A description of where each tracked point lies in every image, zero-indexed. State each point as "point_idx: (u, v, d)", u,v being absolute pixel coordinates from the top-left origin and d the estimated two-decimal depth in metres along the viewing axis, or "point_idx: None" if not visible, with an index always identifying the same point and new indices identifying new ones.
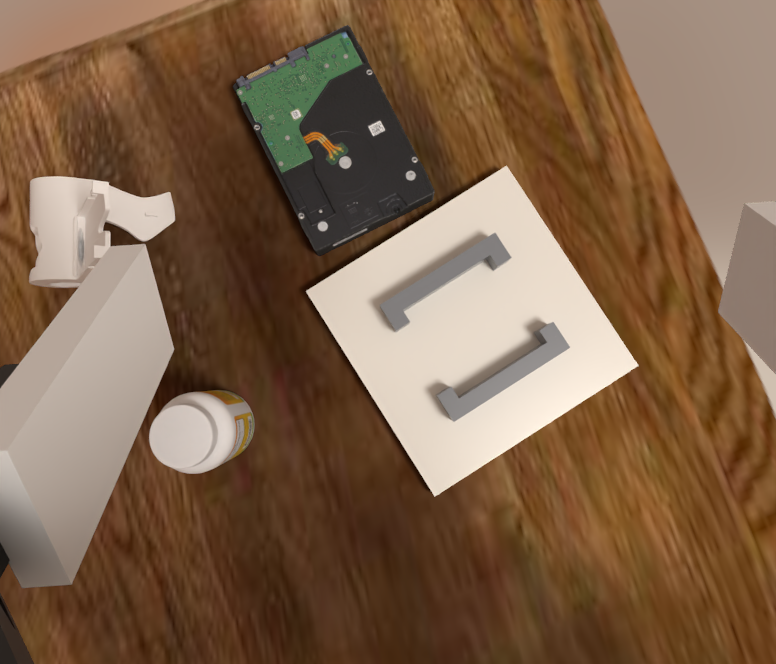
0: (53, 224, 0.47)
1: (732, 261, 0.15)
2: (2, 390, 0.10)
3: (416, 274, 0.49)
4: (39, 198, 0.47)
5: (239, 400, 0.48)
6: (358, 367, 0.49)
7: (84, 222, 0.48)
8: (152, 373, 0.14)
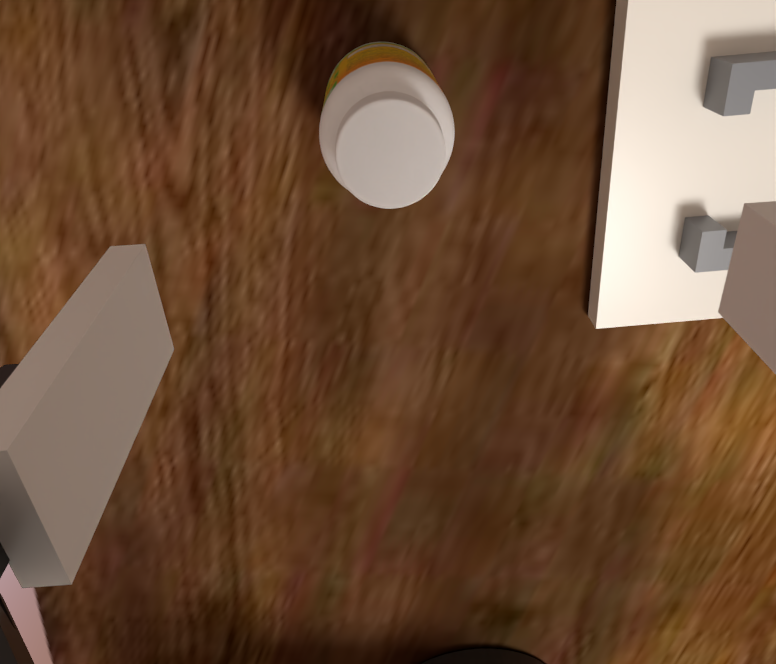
0: None
1: (732, 260, 0.15)
2: (2, 390, 0.10)
3: None
4: None
5: None
6: (621, 128, 0.31)
7: None
8: (152, 373, 0.14)
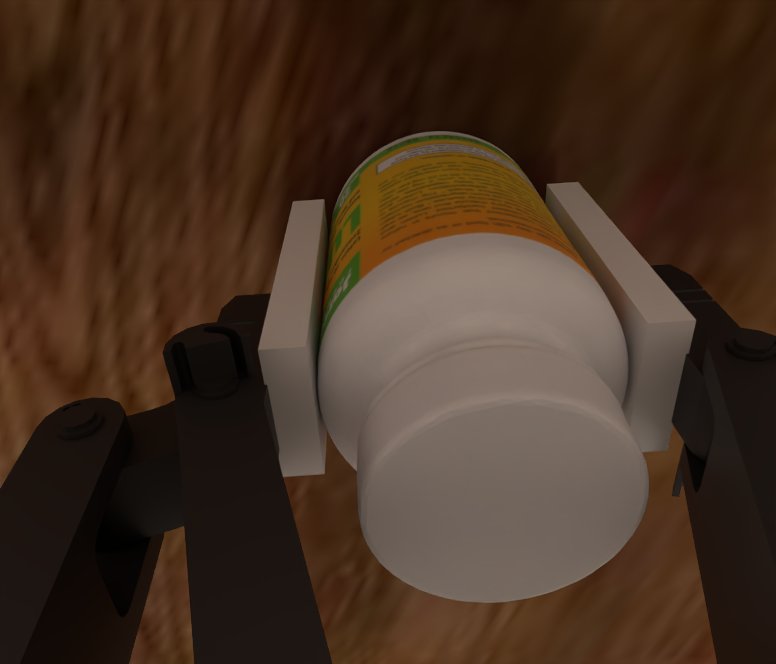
0: None
1: None
2: (270, 306, 0.11)
3: None
4: None
5: None
6: None
7: None
8: None
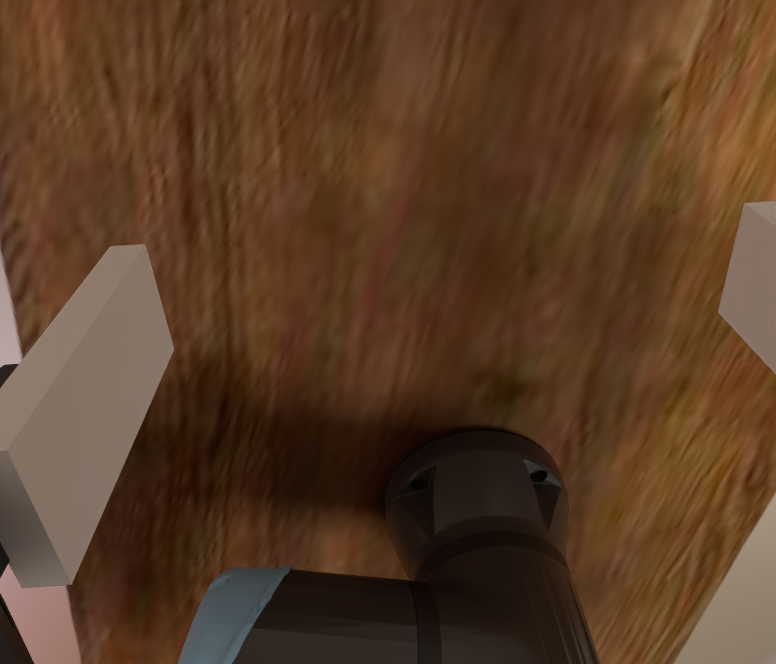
0: None
1: (732, 260, 0.15)
2: (2, 390, 0.10)
3: None
4: None
5: None
6: None
7: None
8: (152, 373, 0.14)
